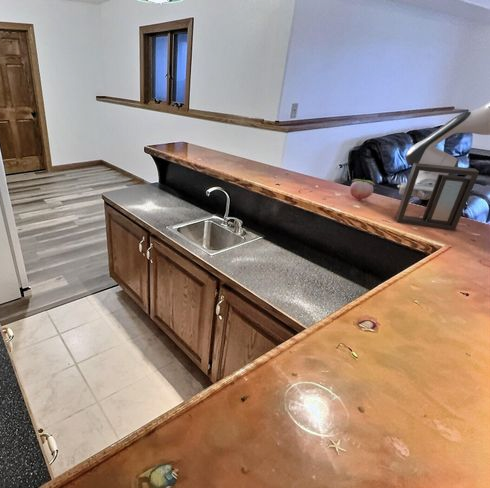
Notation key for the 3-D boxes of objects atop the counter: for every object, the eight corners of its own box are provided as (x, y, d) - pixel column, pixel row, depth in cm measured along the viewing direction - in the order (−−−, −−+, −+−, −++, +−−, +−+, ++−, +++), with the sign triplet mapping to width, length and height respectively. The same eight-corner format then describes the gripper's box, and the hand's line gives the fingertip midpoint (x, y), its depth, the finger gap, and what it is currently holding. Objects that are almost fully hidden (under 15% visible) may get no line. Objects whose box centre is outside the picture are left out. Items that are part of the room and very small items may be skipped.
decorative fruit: (370, 198, 156) (376, 177, 152) (370, 204, 150) (376, 181, 145) (347, 195, 160) (353, 174, 156) (346, 200, 154) (351, 178, 149)
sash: (442, 218, 132) (459, 174, 125) (445, 222, 128) (463, 177, 121) (420, 215, 135) (436, 171, 127) (422, 219, 131) (439, 175, 123)
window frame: (451, 225, 130) (474, 168, 120) (454, 230, 125) (479, 171, 116) (395, 217, 136) (413, 162, 127) (397, 222, 132) (416, 165, 123)
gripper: (399, 177, 143) (403, 186, 132) (460, 183, 135) (470, 193, 124) (394, 191, 146) (398, 201, 135) (453, 199, 138) (463, 210, 127)
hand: (433, 198), depth 129 cm, fingers open, 4 cm apart
